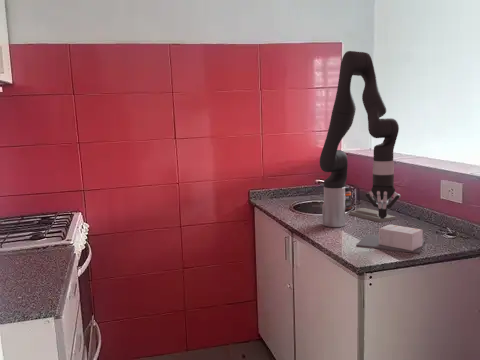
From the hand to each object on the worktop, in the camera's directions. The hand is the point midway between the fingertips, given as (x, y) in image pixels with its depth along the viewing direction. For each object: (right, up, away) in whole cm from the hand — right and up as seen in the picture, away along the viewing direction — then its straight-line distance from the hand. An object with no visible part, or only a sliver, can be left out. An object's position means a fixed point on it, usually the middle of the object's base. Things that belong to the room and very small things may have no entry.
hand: (382, 218), depth 170 cm
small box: (0, -6, 0) cm, 6 cm away
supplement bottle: (+1, -1, +64) cm, 64 cm away
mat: (+3, -10, 0) cm, 10 cm away
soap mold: (+9, -4, +44) cm, 45 cm away
